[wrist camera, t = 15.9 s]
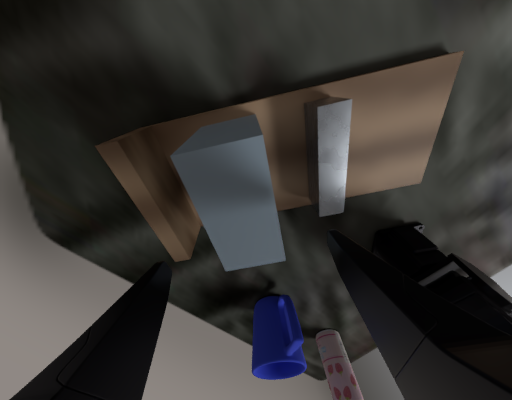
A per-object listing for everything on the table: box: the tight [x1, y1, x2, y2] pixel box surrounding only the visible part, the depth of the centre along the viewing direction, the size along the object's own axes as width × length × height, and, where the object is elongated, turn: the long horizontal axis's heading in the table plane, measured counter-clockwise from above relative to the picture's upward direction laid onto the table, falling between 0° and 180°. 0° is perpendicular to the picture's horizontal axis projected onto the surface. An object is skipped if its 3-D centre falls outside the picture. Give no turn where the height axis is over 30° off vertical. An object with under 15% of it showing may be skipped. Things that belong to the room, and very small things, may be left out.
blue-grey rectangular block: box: [170, 114, 286, 271], centre depth 15 cm, size 10×5×8 cm, turn 12°
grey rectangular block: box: [304, 96, 352, 217], centre depth 17 cm, size 10×2×4 cm, turn 12°
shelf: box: [95, 51, 464, 262], centre depth 17 cm, size 12×28×6 cm, turn 102°
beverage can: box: [316, 329, 364, 400], centre depth 38 cm, size 6×6×15 cm
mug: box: [252, 295, 307, 380], centre depth 30 cm, size 8×12×10 cm
